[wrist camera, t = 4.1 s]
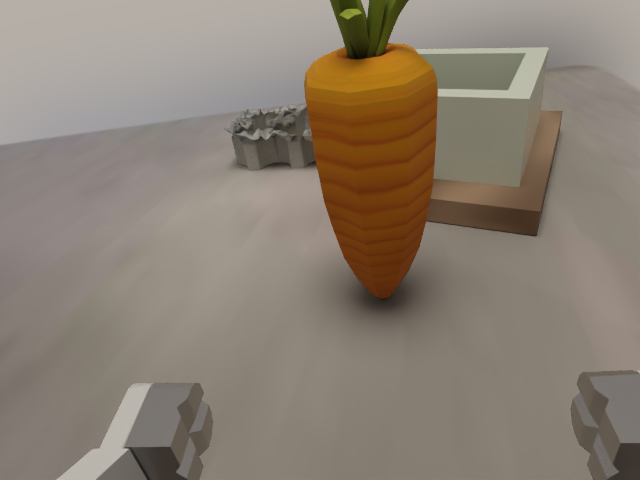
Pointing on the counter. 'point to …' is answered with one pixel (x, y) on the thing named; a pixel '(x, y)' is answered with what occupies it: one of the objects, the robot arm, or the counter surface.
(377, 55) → the carrot
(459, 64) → the square open planter
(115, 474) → the robot arm
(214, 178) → the counter surface
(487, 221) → the walnut board
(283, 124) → the egg carton
